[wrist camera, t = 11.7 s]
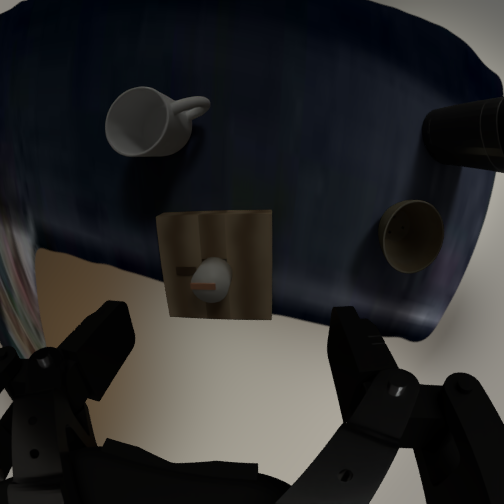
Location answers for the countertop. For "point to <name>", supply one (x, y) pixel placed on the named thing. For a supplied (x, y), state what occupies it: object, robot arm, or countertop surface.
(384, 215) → the yellowish brown bowl
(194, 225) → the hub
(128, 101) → the mug
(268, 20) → the countertop surface
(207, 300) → the knob
